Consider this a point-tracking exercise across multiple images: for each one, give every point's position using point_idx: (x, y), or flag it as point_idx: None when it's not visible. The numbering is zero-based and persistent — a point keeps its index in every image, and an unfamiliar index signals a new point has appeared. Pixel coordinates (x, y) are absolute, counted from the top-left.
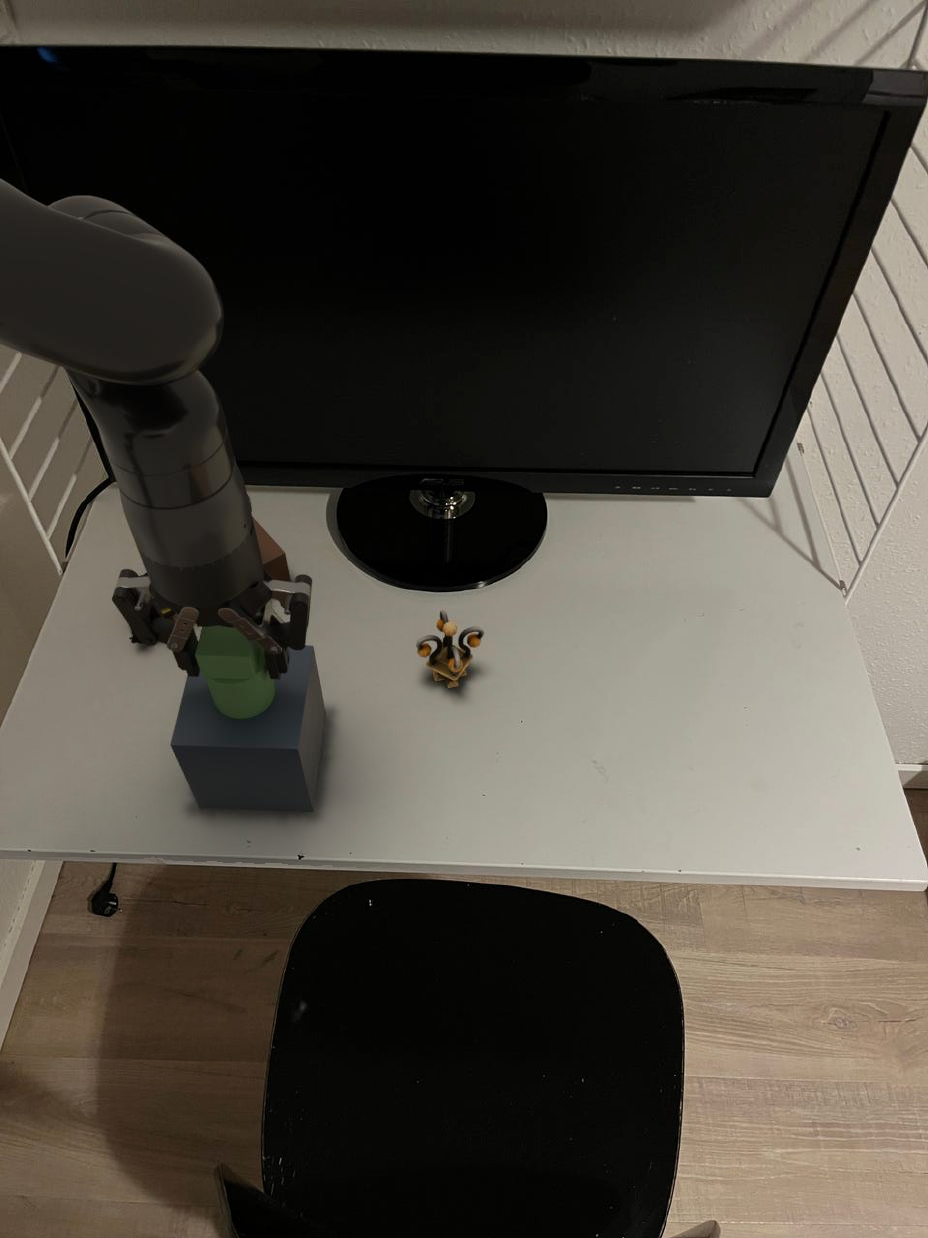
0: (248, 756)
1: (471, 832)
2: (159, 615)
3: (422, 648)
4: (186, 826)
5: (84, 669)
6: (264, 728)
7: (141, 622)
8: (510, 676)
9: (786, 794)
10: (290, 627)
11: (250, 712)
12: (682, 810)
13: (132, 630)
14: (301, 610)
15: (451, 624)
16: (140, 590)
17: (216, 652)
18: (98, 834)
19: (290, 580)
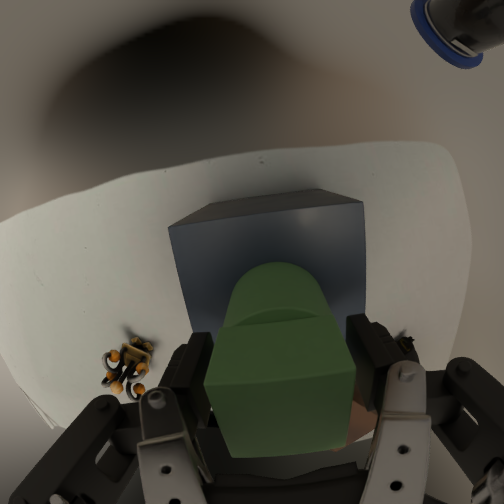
0: (248, 210)
1: (85, 214)
2: (440, 427)
3: (140, 370)
4: (326, 169)
5: (438, 305)
6: (228, 252)
7: (498, 418)
8: (103, 346)
9: None
10: (77, 457)
11: (252, 273)
12: (6, 257)
13: (413, 347)
14: (26, 493)
15: (113, 391)
16: None
17: (299, 386)
18: (397, 155)
19: None
